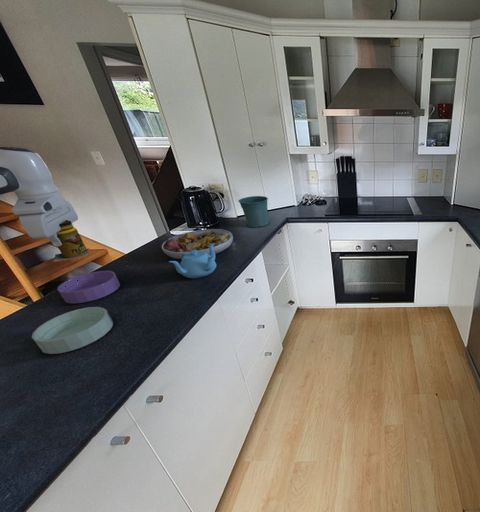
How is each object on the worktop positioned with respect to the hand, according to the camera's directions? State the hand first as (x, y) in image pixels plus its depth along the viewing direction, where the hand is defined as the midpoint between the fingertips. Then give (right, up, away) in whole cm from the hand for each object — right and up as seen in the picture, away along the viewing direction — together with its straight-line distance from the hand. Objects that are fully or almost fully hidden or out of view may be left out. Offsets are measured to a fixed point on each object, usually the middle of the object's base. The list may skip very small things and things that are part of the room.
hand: (65, 241), depth 92 cm
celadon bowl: (+16, -29, -10) cm, 35 cm away
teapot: (+30, -12, +25) cm, 41 cm away
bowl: (+16, -1, +46) cm, 49 cm away
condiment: (0, -5, +2) cm, 6 cm away
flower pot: (+29, +15, +80) cm, 86 cm away
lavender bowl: (-1, -19, +10) cm, 21 cm away
